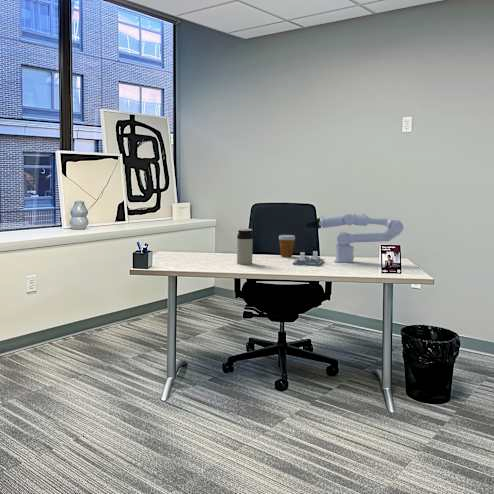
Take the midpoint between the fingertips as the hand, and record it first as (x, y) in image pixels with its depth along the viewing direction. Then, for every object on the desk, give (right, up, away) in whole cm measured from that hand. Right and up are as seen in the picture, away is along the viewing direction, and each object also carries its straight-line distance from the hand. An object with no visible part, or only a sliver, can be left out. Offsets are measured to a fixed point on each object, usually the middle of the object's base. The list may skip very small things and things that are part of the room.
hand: (306, 224), depth 306 cm
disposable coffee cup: (-10, -18, +14) cm, 25 cm away
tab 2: (+4, -19, -6) cm, 20 cm away
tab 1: (-4, -19, -11) cm, 22 cm away
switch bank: (0, -21, -8) cm, 22 cm away
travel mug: (-34, -21, -12) cm, 42 cm away
